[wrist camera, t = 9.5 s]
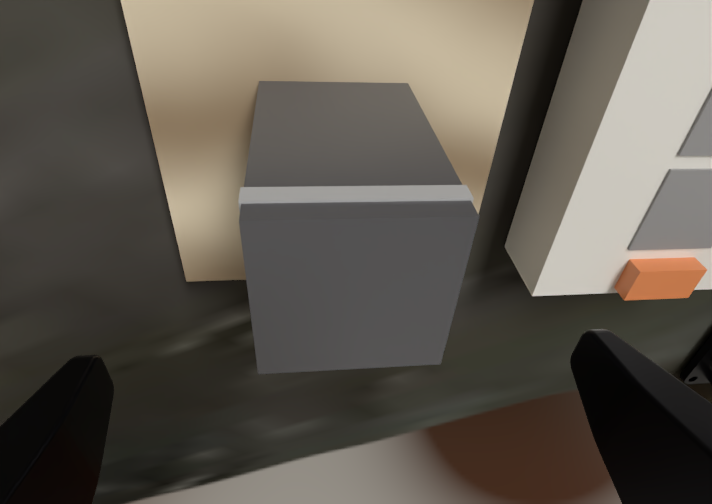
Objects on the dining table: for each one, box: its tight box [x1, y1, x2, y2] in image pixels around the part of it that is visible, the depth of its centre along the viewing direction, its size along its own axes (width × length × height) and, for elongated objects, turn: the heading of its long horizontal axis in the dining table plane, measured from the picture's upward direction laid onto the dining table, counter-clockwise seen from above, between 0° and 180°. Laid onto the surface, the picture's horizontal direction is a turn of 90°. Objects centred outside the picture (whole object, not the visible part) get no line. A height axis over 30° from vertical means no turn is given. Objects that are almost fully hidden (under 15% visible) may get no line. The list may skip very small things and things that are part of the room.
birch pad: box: [121, 0, 534, 282], centre depth 16 cm, size 11×11×1 cm
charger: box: [238, 81, 479, 374], centre depth 13 cm, size 4×4×7 cm
